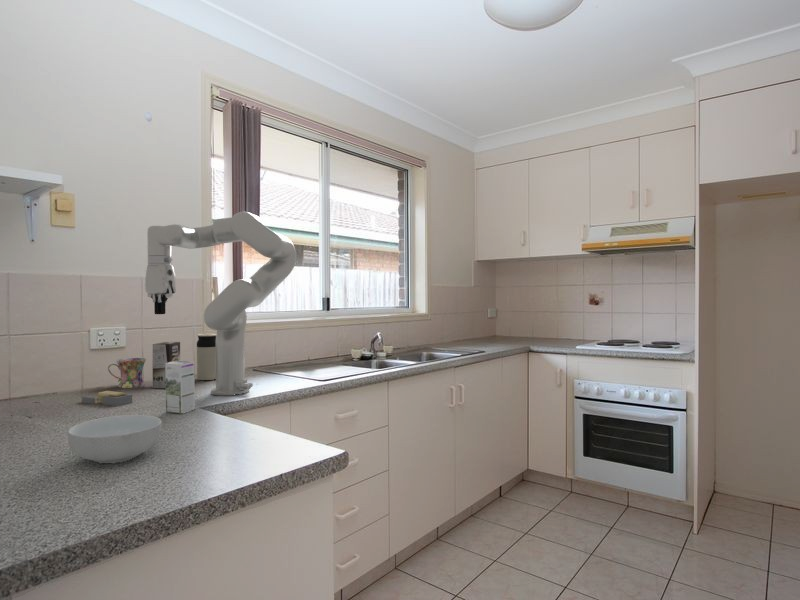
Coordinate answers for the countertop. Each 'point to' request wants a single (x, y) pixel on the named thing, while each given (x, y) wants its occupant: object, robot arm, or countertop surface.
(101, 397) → the latch bolt
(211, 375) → the travel mug
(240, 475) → the countertop surface
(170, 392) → the syrup box
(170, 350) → the coffee box
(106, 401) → the grey tray
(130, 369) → the mug
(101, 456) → the cereal bowl
